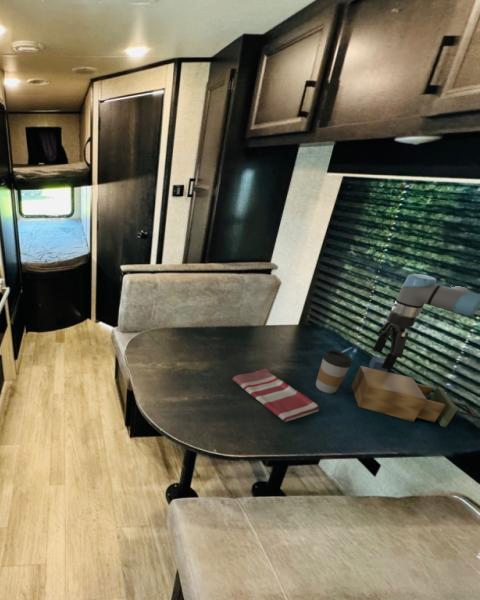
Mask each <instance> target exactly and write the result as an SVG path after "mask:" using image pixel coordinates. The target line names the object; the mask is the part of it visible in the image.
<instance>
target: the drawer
mask: <svg viewBox="0 0 480 600" xmlns="http://www.w3.org/2000/svg"><path fill="white" fill-rule="evenodd" d="M416 384H417V385H418V387H419V388H420V390H421V392H422V393H423V395H424V396H425V398H426V399H427V400H426V402H425V404H424V405H423V407H422V409H421V410H420V412H419V414H418V415H417V417H416V419H421V420H424V421H429V422H433V423H435V422H436V421H437V422H438V424H439V426H440V427H444V428H447V426H448V425H449V423H450V422H451V420H452V419H453V418H454V416H455V414H460V415H464V416H466V417H467V416H468V417H471V418H473V419H475V420H478V419H479V416H478V414H477V413H476V412H475V410H474V409H473V408H472V407H471V405H470V404H469V403H460V402H455V401H452V399H451V398H450V396H449V395H448V393H446V391H445V389H443V387H441V386H436V388H435V389H434V387H433V386H429V385H425V384H421V383H416ZM433 390H434V391H433ZM432 392H433V393H432ZM431 394H432V395H431ZM430 395H431V396H430ZM457 406H459V407H464V408H465V409H466V411H467V412H464V411H461V410H458V407H457Z"/></svg>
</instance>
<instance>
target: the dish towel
mask: <svg viewBox="0 0 480 600" xmlns="http://www.w3.org/2000/svg"><path fill="white" fill-rule="evenodd" d="M232 381H233V382H234V383H235V384H237V385H238V386H239V387H240V388H242V390H244V391H245V392H246V393H248V394H249V395H250V397H252V398H254V399H255V400H257V401H258V402H259V403H260V404H262V405H263V406H264V407H265V408H266V409H267V410H268V411H270V412H271V413H272V414H274V416H276V417H278V418H279V419H280V420H281V421H283V422H284V423H286V422H290V421H294V420H296V419H299V418H302V417H306V416H309V415H311V414H314V413H317V412H319V409H320V406H319V405H318V404H317V403H316V402H314V401H313V400H312V399H311V398H309V397H308V396H307V395H305V394H303V393H301V392H299V391H298V390H296V389H294V388H293V387H292V386H291V385H289V384H287V383H286V382H285V381H284V380H282V379H279V378H278V377H276V376H275V375H274V374H273V373H271V371H269V369H268V368H267V367H265V368H263V369H259V370H256V371H254V372H249V373H241V374H237V375H235V376H233V377H232Z"/></svg>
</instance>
